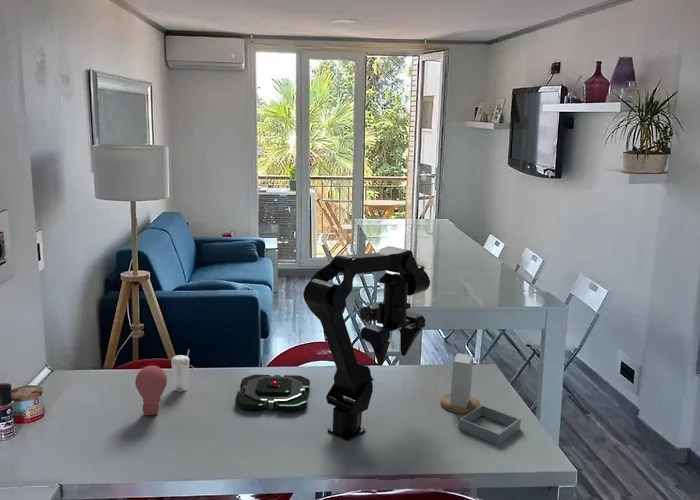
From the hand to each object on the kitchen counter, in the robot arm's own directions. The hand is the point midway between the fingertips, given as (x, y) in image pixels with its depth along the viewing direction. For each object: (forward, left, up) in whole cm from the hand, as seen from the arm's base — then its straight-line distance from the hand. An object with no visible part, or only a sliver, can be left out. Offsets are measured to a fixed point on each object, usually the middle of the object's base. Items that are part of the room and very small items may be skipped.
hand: (392, 360), depth 155 cm
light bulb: (-43, +38, -13) cm, 59 cm away
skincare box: (+15, -11, -12) cm, 22 cm away
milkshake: (-30, +45, -13) cm, 56 cm away
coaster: (+15, -11, -13) cm, 23 cm away
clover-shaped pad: (-16, +25, -14) cm, 33 cm away
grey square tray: (+9, -23, -13) cm, 28 cm away
